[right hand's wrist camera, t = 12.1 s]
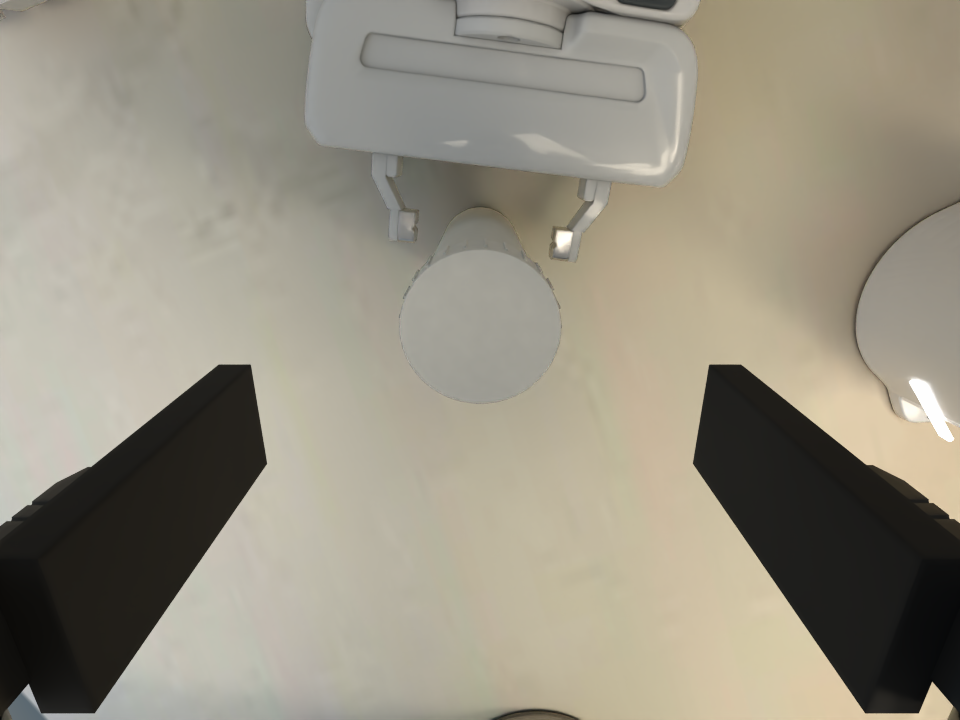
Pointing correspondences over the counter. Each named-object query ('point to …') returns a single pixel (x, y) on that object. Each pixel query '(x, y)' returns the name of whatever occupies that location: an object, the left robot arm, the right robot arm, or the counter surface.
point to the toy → (18, 5)
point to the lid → (480, 322)
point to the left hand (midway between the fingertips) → (482, 250)
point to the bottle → (480, 229)
